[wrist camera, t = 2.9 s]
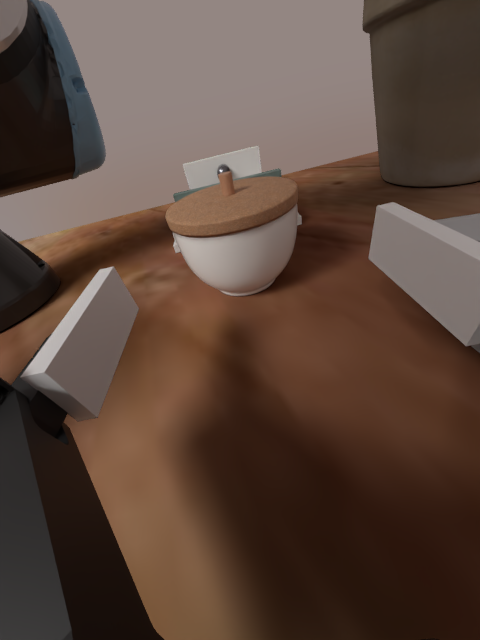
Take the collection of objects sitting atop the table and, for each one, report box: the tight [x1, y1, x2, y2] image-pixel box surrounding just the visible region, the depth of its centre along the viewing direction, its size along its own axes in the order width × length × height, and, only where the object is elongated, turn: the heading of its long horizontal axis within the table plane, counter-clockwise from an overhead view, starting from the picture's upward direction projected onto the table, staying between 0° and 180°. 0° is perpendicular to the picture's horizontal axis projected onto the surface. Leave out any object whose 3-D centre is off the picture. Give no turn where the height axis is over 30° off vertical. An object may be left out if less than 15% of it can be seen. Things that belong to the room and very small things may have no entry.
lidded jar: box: [165, 171, 298, 296], centre depth 21 cm, size 11×11×9 cm
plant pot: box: [363, 0, 480, 187], centre depth 29 cm, size 25×25×22 cm
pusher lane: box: [173, 146, 302, 253], centre depth 38 cm, size 22×17×7 cm
